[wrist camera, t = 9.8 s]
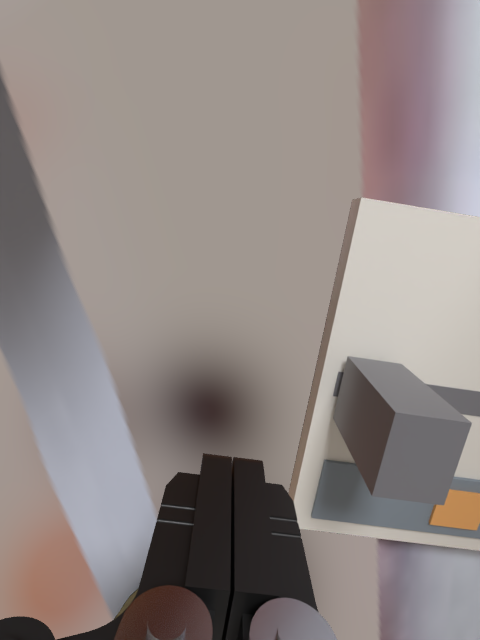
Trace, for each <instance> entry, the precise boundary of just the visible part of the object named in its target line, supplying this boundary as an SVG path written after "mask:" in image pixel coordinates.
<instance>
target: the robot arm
mask: <svg viewBox="0 0 480 640" xmlns="http://www.w3.org/2000/svg"><path fill="white" fill-rule="evenodd" d="M0 640H55V638H54V636H53V634H52V632H51V630H50V629H49V628H48V627H47V626H46V625H45V624H44V623H42V622H41V621H39V620H37V619H34V618H30V617H11V618H5V619H2V620H0ZM57 640H337V639H336V636H335V634H334V632H333V630H332V629H331V627H330V625H329V624H328V623H327V621H326V620H325V619H324V618H323V617H322V616H321V614H319V612H318V610H317V606H316V602H315V598H314V594H313V589H312V584H311V580H310V575H309V570H308V566H307V561H306V557H305V552H304V547H303V543H302V539H301V534H300V529H299V524H298V523H297V515H296V511H295V506H294V501H293V500H292V498H291V497H290V496H289V494H288V493H287V491H286V490H285V489H284V487H283V486H282V485H279V484H271V483H265V476H264V467H263V462H262V461H260V460H253V459H245V458H237V457H234V458H233V461H232V457H228V456H219V455H212V454H204V453H203V458H202V465H201V471H200V475H197V474H189V473H181V472H178V473H177V475H176V476H175V477H174V478H173V479H172V480H171V481H170V482H169V483H168V484H167V485H166V488H165V492H164V495H163V499H162V503H161V507H160V511H159V514H158V518H157V522H156V526H155V529H154V533H153V537H152V541H151V544H150V548H149V552H148V556H147V559H146V563H145V567H144V571H143V575H142V578H141V582H140V586H139V588H138V591H137V593H136V595H135V597H134V599H133V601H132V602H131V603H130V605H129V606H128V607H127V608H126V609H125V611H124V612H123V613H122V614H120V615H119V616H118V617H117V618H116V619H114V620H113V621H111V622H110V623H108V624H107V625H104V626H102V627H100V628H98V629H95V630H92V631H89V632H85V633H81V634H78V635H73V636H69V637H65V638H61V639H57Z"/></svg>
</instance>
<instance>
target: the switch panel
mask: <svg viewBox="0 0 480 640" xmlns="http://www.w3.org/2000/svg"><path fill="white" fill-rule="evenodd" d="M348 356H351V357H358V358H365V359H372V360H378V361H385V362H392V363H399V364H402V365H403V366H405V367H406V368H407V369H408V370H409V371H411V372H412V373H413V374H414V375H415V376H417V377H418V378H419V379H420V380H421V381H423V382H424V383H425V384H426V385H427V386H428V387H430V388H431V389H432V390H433V391H434V392H436V393H437V394H438V395H439V396H440V397H442V398H443V399H444V400H445V401H446V402H448V403H449V404H450V405H451V406H452V407H454V408H455V409H456V410H457V411H458V412H459V413H461V414H462V415H463V416H464V417H465V418H467V419H468V420H469V421H470V422H471V423H472V425H471V428H470V430H469V433H468V436H467V439H466V442H465V445H464V448H463V451H462V454H461V457H460V460H459V463H458V466H457V469H456V472H455V475H454V477H453V480H452V483H451V486H450V489H449V492H448V495H447V498H446V501H445V504H444V505H436V504H428V503H420V502H412V501H404V500H397V499H389V498H381V497H373V496H372V495H371V493H370V491H369V489H368V487H367V485H366V483H365V481H364V479H363V477H362V475H361V473H360V471H359V469H358V467H357V465H356V463H355V461H354V459H353V457H352V455H351V453H350V451H349V449H348V447H347V445H346V443H345V441H344V439H343V437H342V435H341V433H340V431H339V429H338V427H337V425H336V423H335V421H334V419H333V415H334V411H335V407H336V403H337V399H338V394H339V390H340V386H341V382H342V378H343V373H344V369H345V365H346V361H347V357H348ZM288 494H289V496H290V497H291V498H292V500H293V501H294V506H295V511H296V515H297V523H298V524H299V529H305V530H313V531H321V532H329V533H337V534H346V535H355V536H362V537H370V538H378V539H387V540H395V541H403V542H411V543H419V544H428V545H436V546H444V547H452V548H460V549H469V550H477V551H480V217H476V216H470V215H464V214H458V213H452V212H446V211H440V210H434V209H428V208H422V207H416V206H409V205H403V204H397V203H391V202H385V201H379V200H373V199H367V198H357V199H353V200H352V204H351V208H350V213H349V217H348V222H347V227H346V231H345V236H344V240H343V245H342V250H341V254H340V259H339V263H338V268H337V273H336V277H335V282H334V287H333V291H332V295H331V300H330V305H329V309H328V314H327V319H326V323H325V328H324V332H323V337H322V341H321V346H320V351H319V355H318V360H317V365H316V369H315V374H314V379H313V383H312V388H311V392H310V397H309V401H308V406H307V410H306V415H305V420H304V424H303V429H302V433H301V438H300V443H299V447H298V452H297V456H296V461H295V466H294V471H293V475H292V479H291V484H290V489H289V493H288Z"/></svg>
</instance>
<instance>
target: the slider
mask: <svg viewBox="0 0 480 640" xmlns="http://www.w3.org/2000/svg"><path fill="white" fill-rule="evenodd" d="M333 419H334V421H335V423H336V425H337V427H338V429H339V431H340V433H341V435H342V437H343V439H344V441H345V443H346V445H347V447H348V449H349V451H350V453H351V455H352V457H353V459H354V461H355V463H356V465H357V467H358V469H359V471H360V473H361V475H362V477H363V479H364V481H365V483H366V485H367V487H368V489H369V491H370V493H371V495H372V496H373V497H381V498H389V499H397V500H404V501H412V502H420V503H428V504H436V505H444V504H445V501H446V498H447V495H448V492H449V489H450V486H451V483H452V480H453V477H454V475H455V472H456V469H457V466H458V463H459V460H460V457H461V454H462V451H463V448H464V445H465V442H466V439H467V436H468V433H469V430H470V428H471V425H472V423H471V422H470V421H469V420H468V419H467V418H465V417H464V416H463V415H462V414H461V413H459V412H458V411H457V410H456V409H455V408H454V407H452V406H451V405H450V404H449V403H448V402H446V401H445V400H444V399H443V398H442V397H440V396H439V395H438V394H437V393H436V392H434V391H433V390H432V389H431V388H430V387H428V386H427V385H426V384H425V383H424V382H423V381H421V380H420V379H419V378H418V377H417V376H415V375H414V374H413V373H412V372H411V371H409V370H408V369H407V368H406V367H405V366H403V365H402V364H399V363H392V362H385V361H378V360H372V359H365V358H358V357H351V356H348V357H347V361H346V365H345V369H344V373H343V378H342V382H341V386H340V390H339V394H338V399H337V403H336V407H335V411H334V415H333Z"/></svg>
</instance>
